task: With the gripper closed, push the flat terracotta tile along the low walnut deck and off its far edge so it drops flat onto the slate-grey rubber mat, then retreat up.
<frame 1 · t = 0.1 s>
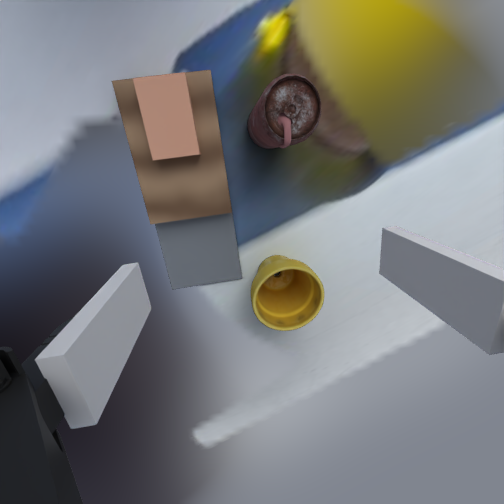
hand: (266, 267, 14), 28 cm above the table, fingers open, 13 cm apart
tile: (171, 120, 33), point 2 cm above the table, touching deck
can: (268, 127, 37), on the table
mat: (200, 250, 42), on the table
plant pot: (275, 271, 45), on the table
deck: (180, 153, 37), on the table
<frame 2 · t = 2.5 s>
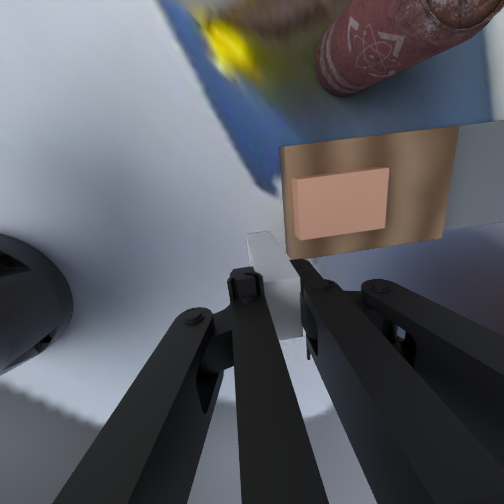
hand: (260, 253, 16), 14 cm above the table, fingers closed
tile: (335, 201, 27), point 2 cm above the table, touching deck
can: (343, 62, 25), on the table
mat: (479, 177, 31), on the table
deck: (359, 193, 30), on the table
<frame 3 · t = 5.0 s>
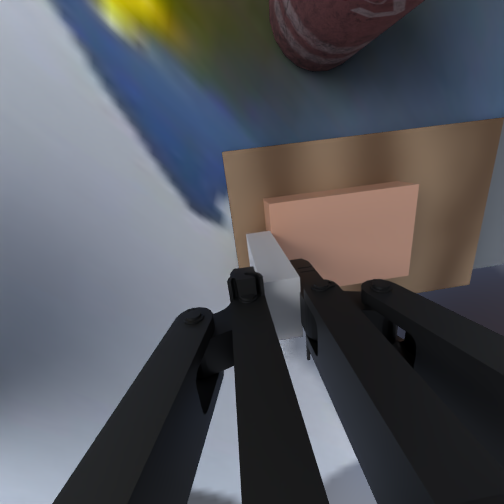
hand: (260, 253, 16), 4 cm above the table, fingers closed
tile: (331, 233, 18), point 2 cm above the table, touching deck, gripper
can: (318, 16, 16), on the table
deck: (348, 220, 20), on the table
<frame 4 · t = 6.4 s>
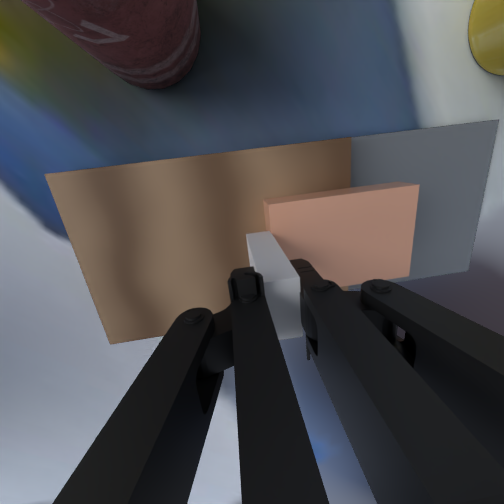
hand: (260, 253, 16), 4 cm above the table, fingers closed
tile: (331, 234, 18), point 3 cm above the table, touching gripper
can: (150, 32, 15), on the table
mat: (407, 212, 21), on the table
deck: (220, 238, 20), on the table
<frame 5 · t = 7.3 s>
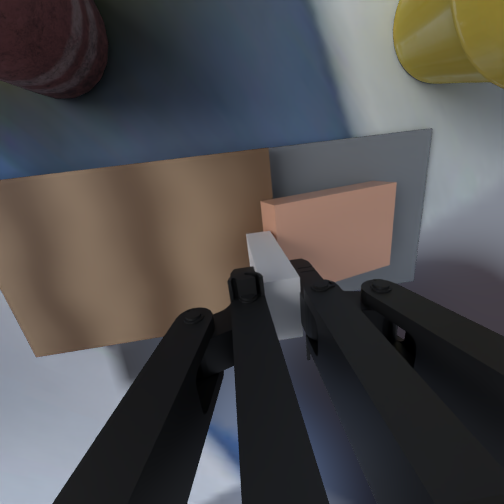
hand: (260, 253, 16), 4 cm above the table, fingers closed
tile: (321, 232, 19), point 2 cm above the table, tilted 15°, touching deck, gripper
can: (59, 40, 15), on the table
mat: (345, 221, 20), on the table
plant pot: (437, 26, 16), on the table
deck: (151, 249, 19), on the table
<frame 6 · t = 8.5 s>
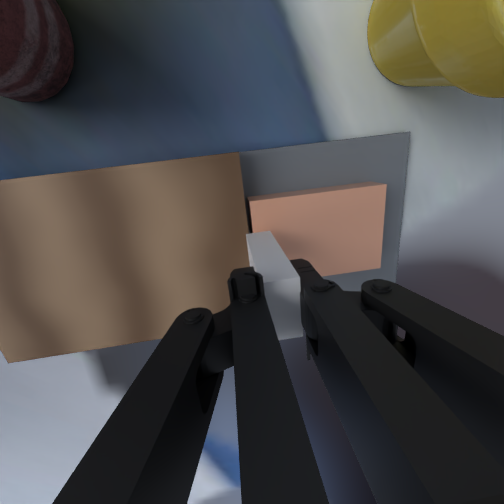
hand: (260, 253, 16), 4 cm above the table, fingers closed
tile: (310, 229, 19), resting on mat
can: (24, 42, 14), on the table
mat: (324, 226, 20), on the table
plant pot: (413, 27, 16), on the table
deck: (126, 254, 19), on the table
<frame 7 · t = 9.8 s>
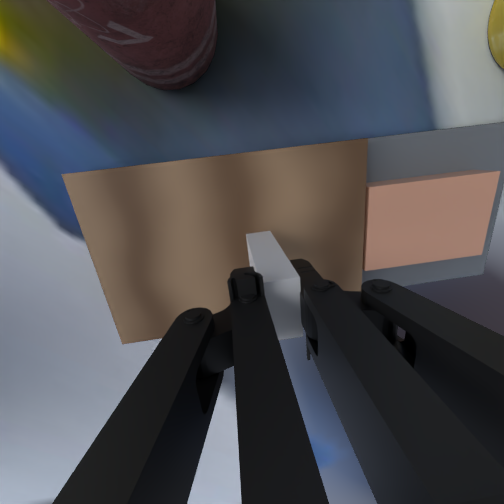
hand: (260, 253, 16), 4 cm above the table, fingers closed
tile: (410, 217, 20), resting on mat
can: (167, 32, 15), on the table
mat: (421, 214, 20), on the table
deck: (232, 239, 20), on the table
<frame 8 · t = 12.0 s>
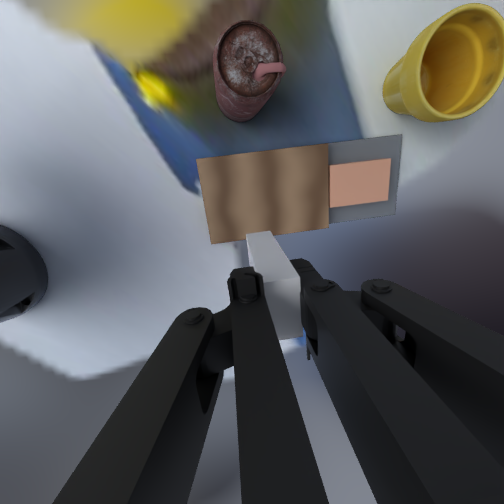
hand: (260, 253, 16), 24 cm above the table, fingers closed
tile: (353, 182, 39), resting on mat
can: (240, 97, 35), on the table
mat: (359, 181, 40), on the table
plant pot: (403, 88, 36), on the table
deck: (264, 193, 39), on the table
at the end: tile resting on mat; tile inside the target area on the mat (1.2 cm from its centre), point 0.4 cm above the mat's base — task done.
